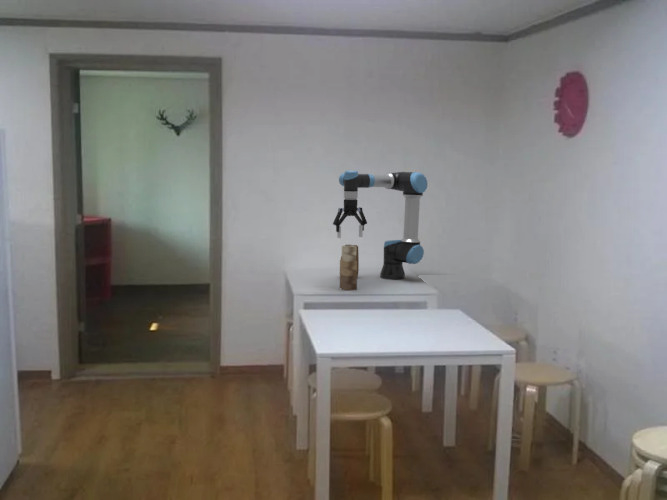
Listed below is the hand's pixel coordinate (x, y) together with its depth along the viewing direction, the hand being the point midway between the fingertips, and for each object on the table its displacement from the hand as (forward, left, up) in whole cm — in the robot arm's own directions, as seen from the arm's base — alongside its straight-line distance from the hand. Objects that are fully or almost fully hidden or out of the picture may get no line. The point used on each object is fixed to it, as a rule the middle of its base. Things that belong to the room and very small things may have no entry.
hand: (349, 237), depth 400 cm
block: (-18, -32, -29) cm, 47 cm away
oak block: (+1, 0, -21) cm, 21 cm away
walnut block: (0, 0, -29) cm, 29 cm away
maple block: (0, 0, -13) cm, 13 cm away
